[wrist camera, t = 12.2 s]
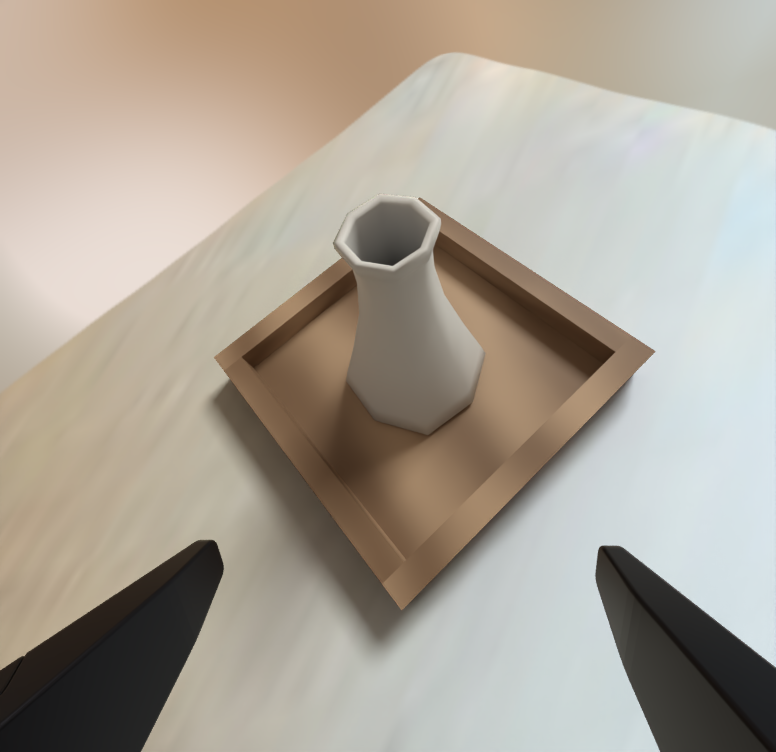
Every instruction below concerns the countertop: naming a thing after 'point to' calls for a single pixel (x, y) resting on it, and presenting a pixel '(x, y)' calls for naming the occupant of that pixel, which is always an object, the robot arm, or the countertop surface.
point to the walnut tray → (453, 438)
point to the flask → (405, 318)
